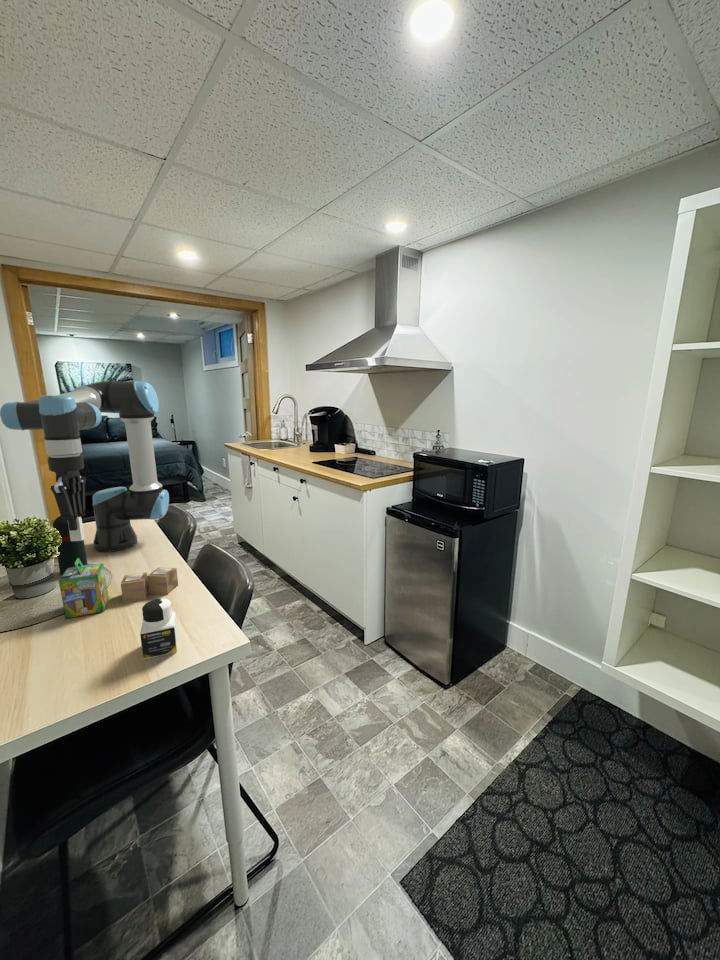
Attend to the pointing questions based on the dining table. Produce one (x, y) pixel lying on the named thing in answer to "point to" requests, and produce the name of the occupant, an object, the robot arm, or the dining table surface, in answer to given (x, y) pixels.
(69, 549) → the wine bottle
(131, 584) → the walnut block
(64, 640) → the dining table surface
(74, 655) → the dining table surface
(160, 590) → the walnut block
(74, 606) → the chalk box
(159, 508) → the robot arm
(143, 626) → the medicine bottle
